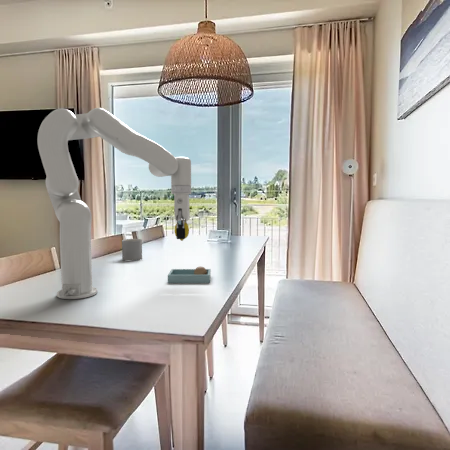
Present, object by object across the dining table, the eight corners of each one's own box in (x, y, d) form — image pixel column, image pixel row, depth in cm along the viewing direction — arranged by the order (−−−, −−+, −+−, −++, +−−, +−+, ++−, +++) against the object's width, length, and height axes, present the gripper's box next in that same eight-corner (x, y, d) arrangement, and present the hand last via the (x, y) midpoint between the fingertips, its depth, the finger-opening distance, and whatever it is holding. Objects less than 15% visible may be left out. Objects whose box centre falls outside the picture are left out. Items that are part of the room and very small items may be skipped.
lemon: (182, 239, 145) (181, 219, 144) (192, 240, 141) (192, 219, 141) (171, 240, 140) (171, 220, 140) (181, 242, 137) (181, 220, 136)
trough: (209, 284, 137) (209, 275, 136) (167, 284, 137) (167, 275, 136) (210, 277, 148) (210, 269, 148) (171, 277, 148) (171, 269, 147)
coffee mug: (139, 260, 185) (138, 241, 184) (119, 260, 185) (119, 241, 185) (146, 256, 198) (145, 238, 197) (127, 256, 199) (127, 237, 198)
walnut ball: (206, 280, 140) (206, 267, 139) (193, 280, 140) (193, 267, 139) (207, 277, 145) (207, 265, 144) (194, 277, 145) (194, 265, 144)
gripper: (189, 190, 131) (189, 240, 132) (193, 190, 148) (193, 235, 149) (168, 190, 131) (168, 240, 132) (174, 190, 148) (174, 235, 149)
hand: (181, 237), depth 141 cm, fingers closed on lemon, 5 cm apart
